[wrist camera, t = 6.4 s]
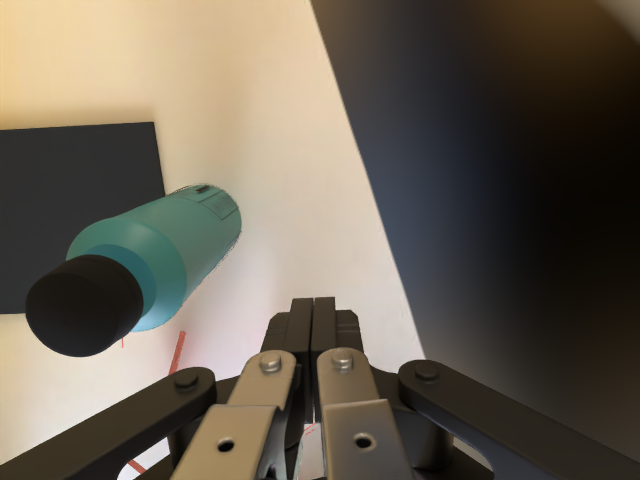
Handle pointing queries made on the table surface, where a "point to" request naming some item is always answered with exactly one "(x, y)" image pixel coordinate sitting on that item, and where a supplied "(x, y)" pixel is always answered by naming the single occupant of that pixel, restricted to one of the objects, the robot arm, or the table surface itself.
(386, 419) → the robot arm
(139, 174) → the mat
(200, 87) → the table surface
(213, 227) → the beverage bottle
